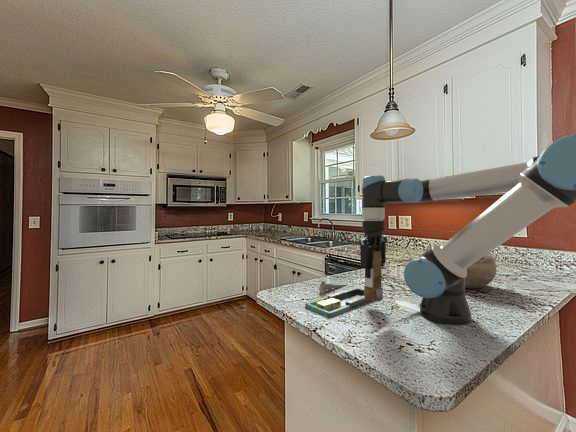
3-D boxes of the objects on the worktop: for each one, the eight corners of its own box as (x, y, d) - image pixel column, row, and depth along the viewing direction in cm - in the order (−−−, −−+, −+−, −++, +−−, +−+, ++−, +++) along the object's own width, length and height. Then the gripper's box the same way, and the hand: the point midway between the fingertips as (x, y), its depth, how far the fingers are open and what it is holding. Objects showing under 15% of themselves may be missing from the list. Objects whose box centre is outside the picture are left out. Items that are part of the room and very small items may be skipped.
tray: (350, 312, 95) (349, 305, 95) (329, 320, 89) (329, 313, 89) (325, 303, 105) (325, 297, 105) (305, 310, 98) (305, 303, 98)
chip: (340, 308, 98) (340, 300, 98) (333, 311, 95) (333, 303, 95) (332, 305, 101) (332, 297, 101) (324, 308, 99) (324, 300, 98)
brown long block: (383, 299, 95) (383, 251, 95) (377, 301, 93) (377, 252, 92) (369, 294, 100) (369, 249, 99) (362, 297, 97) (362, 250, 97)
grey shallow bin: (379, 301, 106) (379, 293, 106) (351, 312, 96) (351, 303, 96) (354, 294, 116) (354, 286, 115) (326, 303, 105) (326, 295, 105)
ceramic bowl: (476, 296, 110) (476, 260, 110) (429, 283, 130) (429, 252, 130) (507, 289, 119) (507, 255, 119) (458, 277, 139) (459, 248, 139)
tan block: (332, 311, 96) (332, 302, 96) (324, 314, 93) (324, 305, 93) (324, 308, 99) (324, 300, 99) (316, 310, 96) (316, 302, 96)
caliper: (321, 297, 113) (321, 282, 113) (319, 296, 114) (319, 281, 114) (350, 287, 127) (350, 273, 126) (348, 286, 127) (348, 273, 127)
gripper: (378, 218, 103) (378, 279, 104) (349, 220, 93) (349, 287, 94) (396, 219, 98) (396, 283, 98) (367, 221, 87) (367, 293, 88)
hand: (373, 285), depth 96 cm, fingers closed on brown long block, 4 cm apart
